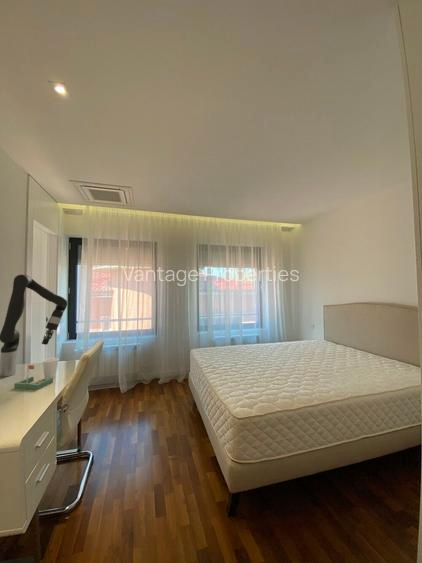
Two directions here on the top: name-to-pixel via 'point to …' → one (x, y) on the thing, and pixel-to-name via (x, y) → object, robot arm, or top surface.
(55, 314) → the robot arm
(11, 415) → the top surface
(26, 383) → the green pocket
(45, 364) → the foam cup
